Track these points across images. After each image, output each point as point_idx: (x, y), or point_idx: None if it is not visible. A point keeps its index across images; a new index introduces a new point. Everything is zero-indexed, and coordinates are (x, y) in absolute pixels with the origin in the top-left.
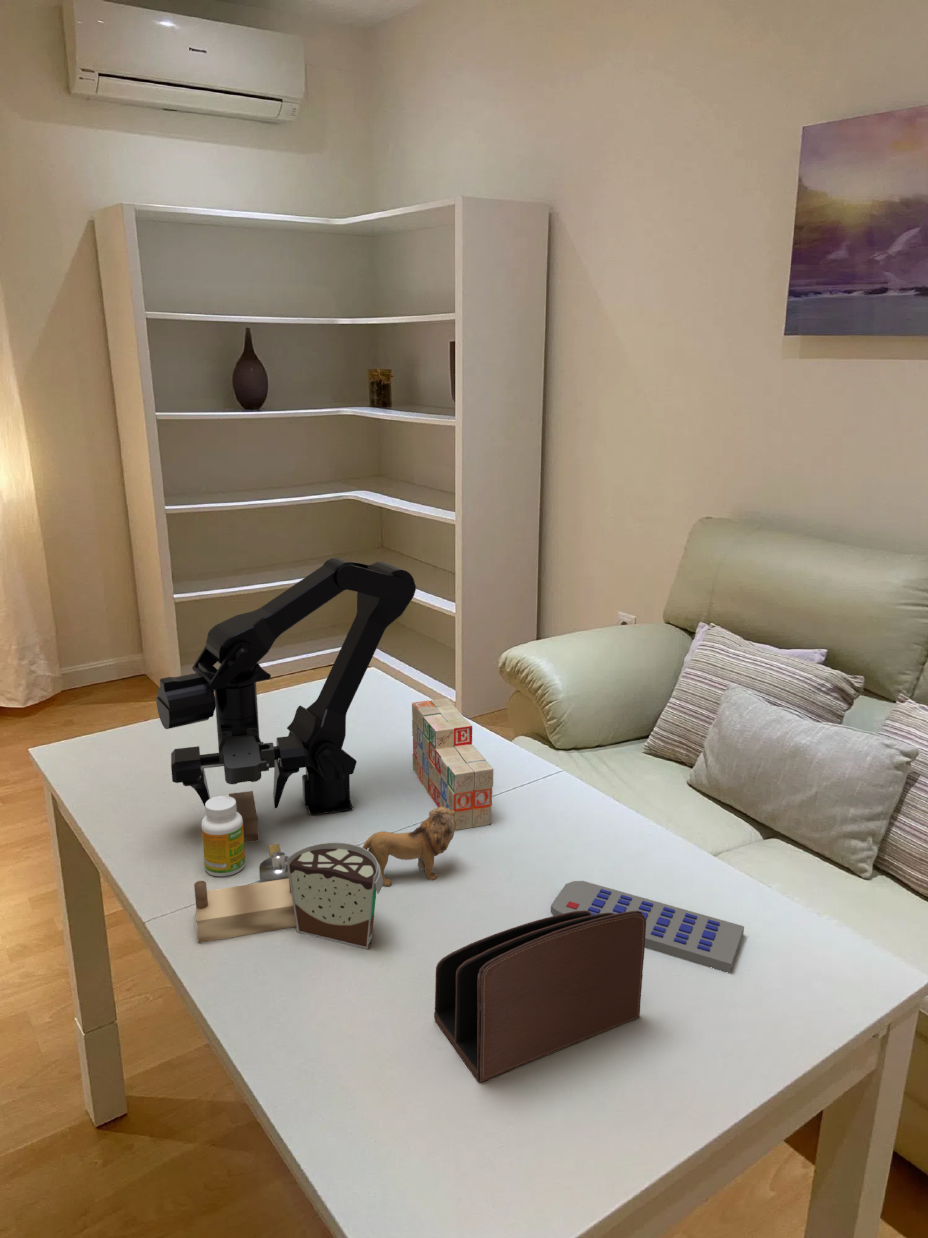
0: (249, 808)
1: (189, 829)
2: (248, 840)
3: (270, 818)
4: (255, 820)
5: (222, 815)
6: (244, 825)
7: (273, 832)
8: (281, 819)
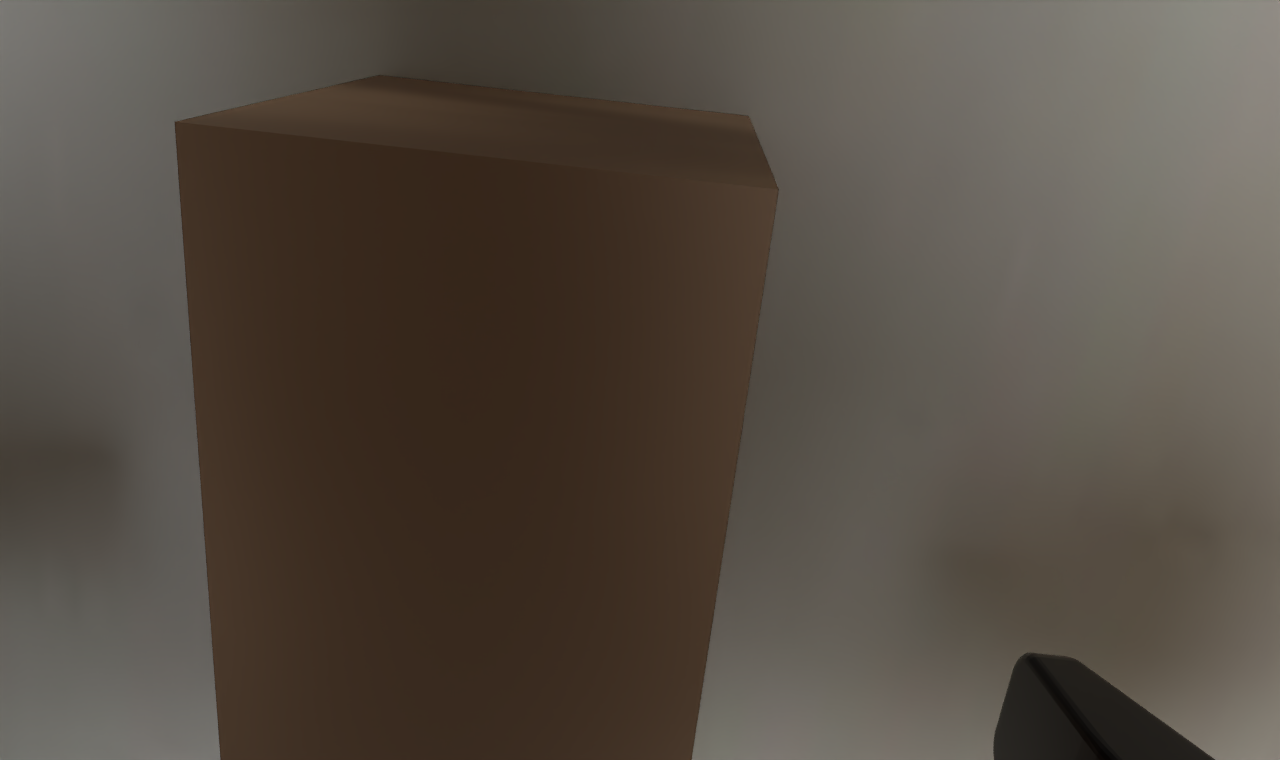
0: (332, 551)
1: (1187, 698)
2: (522, 95)
3: (188, 582)
4: (260, 115)
5: None
6: (522, 128)
7: (158, 230)
8: (51, 511)
